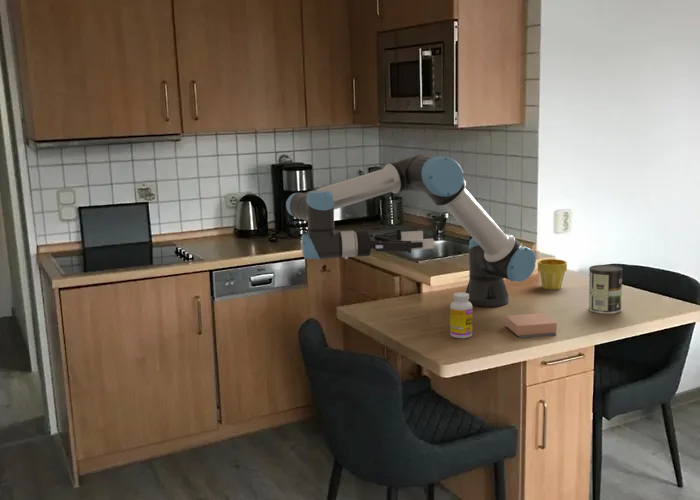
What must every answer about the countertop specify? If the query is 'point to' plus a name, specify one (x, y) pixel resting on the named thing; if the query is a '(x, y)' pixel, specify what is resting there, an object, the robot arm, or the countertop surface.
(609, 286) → the coffee can
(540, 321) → the pink flat block
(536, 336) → the mat
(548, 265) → the plant pot
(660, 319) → the countertop surface
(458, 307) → the supplement bottle
